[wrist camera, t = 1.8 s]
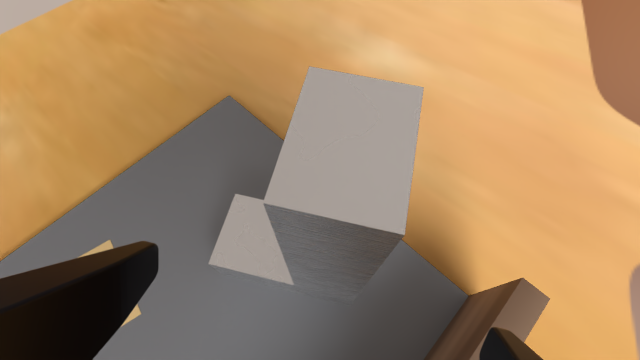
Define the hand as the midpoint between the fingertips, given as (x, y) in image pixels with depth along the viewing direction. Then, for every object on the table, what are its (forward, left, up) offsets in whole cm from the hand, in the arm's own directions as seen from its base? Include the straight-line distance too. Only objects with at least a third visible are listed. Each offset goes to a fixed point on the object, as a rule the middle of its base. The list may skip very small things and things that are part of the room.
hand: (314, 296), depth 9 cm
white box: (+3, -2, -10) cm, 11 cm away
